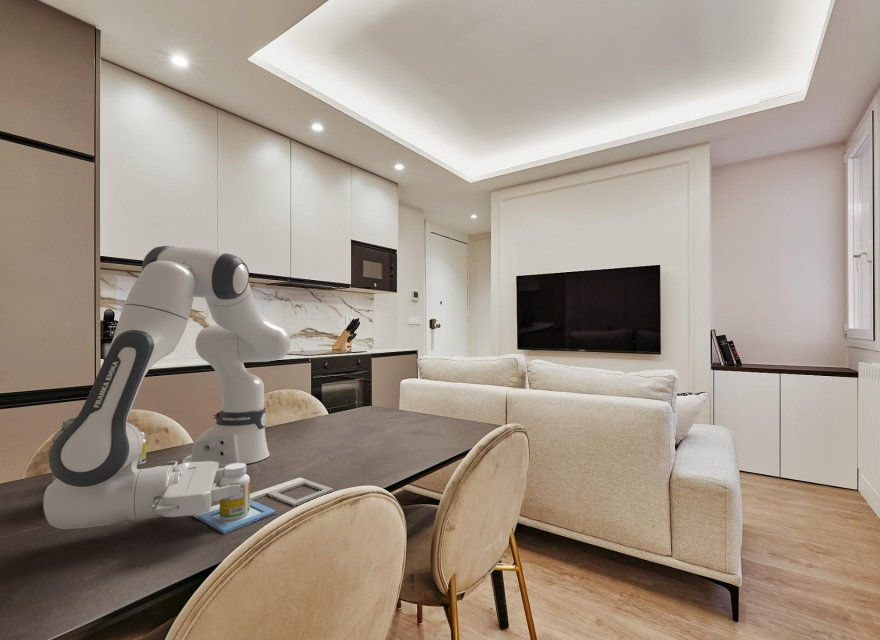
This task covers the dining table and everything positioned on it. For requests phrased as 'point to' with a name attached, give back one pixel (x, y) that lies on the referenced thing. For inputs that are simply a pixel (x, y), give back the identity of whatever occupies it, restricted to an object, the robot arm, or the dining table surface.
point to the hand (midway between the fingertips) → (241, 480)
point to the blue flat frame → (258, 509)
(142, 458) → the supplement bottle
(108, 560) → the dining table surface
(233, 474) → the supplement bottle
